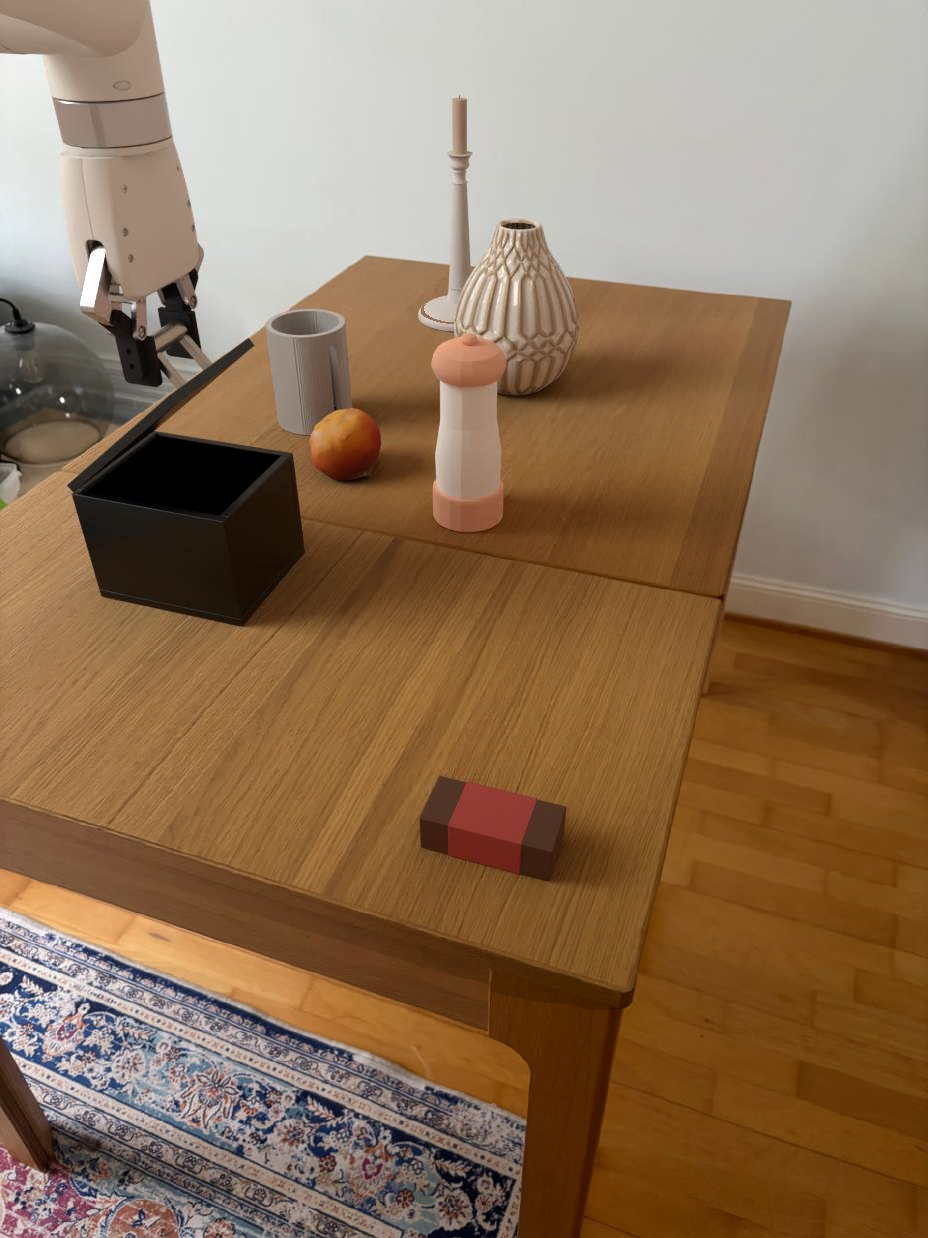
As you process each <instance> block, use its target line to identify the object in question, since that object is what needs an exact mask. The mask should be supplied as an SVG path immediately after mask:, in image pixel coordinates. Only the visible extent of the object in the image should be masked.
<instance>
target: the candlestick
mask: <svg viewBox="0 0 928 1238" xmlns="http://www.w3.org/2000/svg"><path fill="white" fill-rule="evenodd" d="M451 105H452V106H451V112H452V113H451V116H452V117H451V119H452V120H451V121H452V122H451V123H452V124H451V125H452V126H451V127H452V128H451V129H452V138H451V139H452V140H451V141H452V150H451V151H447V152H446V155H447V156H448V157H449V158H450V162H449V163H450V164H449V165H450V168H451V169H452V173H453V180H452V181H451V182H452V183H451V184H452V192H451V193H452V195H451V196H452V197H451V200H452V201H451V219H450V221H451V222H450V243H449V244H450V245H449V246H450V249H449V271H448V272H449V273H448V285H447V286H448V291H447V295H443V296H438V297H436V298H433V299H431V300H429V301H428V303H427V302H425V304H426V305H425V304H424V305H425V306H424V311H425V313H426V314H427V315H429V316H430V317H432V318H434V319H437V320H441V321H445V322H454V317H455V312H456V308H457V304H458V300H459V297H460V294H461V292H462V289H463V287H464V285H465V283H466V281H467V279H468V277H469V276H470V274H471V273H472V266H471V247H470V246H471V245H470V222H469V221H470V220H469V203H468V202H469V201H468V181H467V179H466V176H467V175H466V174H467V169H468V168H469V167H470V158H471V156H473V152H472V151H468V98H466V97H461V94H459V96H458V97H454V98H451ZM421 308H422V306H421V307H420V308H419V310H418V313H417V318H418V320H419V322H420V323H422V325H424V326H427V327H428V328H430V329H434V330H438V331H442V332H443V331H444V332H453V333H454V324H446V323H440V322H436V321H433V320H430V319H428V318H426V317H424V316H423V315H422V314H421Z"/></svg>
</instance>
